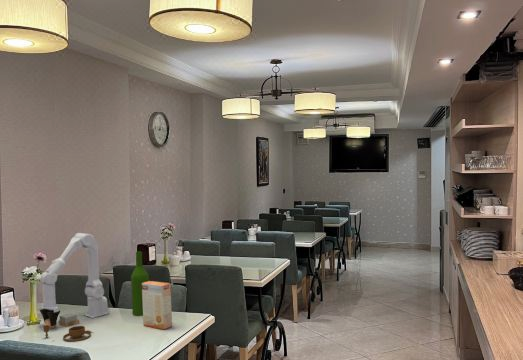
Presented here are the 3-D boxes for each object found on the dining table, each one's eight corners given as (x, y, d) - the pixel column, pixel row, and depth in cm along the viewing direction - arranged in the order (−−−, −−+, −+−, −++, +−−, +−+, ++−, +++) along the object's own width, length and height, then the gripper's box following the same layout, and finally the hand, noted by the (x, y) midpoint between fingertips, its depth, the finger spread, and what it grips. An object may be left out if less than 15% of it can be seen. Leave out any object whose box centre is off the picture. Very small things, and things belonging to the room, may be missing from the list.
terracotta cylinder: (52, 325, 244) (52, 317, 244) (57, 327, 241) (56, 318, 241) (44, 327, 241) (43, 319, 241) (48, 329, 238) (47, 321, 238)
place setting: (67, 347, 214) (67, 333, 213) (41, 339, 225) (40, 326, 225) (101, 335, 228) (100, 322, 228) (74, 328, 239) (74, 316, 239)
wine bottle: (144, 310, 265) (141, 249, 265) (153, 313, 259) (150, 251, 258) (129, 314, 259) (126, 252, 258) (138, 317, 253) (135, 253, 252)
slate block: (71, 317, 249) (71, 312, 249) (77, 319, 245) (76, 314, 245) (59, 320, 245) (59, 315, 245) (65, 322, 241) (65, 317, 241)
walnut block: (72, 322, 250) (72, 317, 250) (79, 324, 245) (79, 319, 245) (59, 325, 245) (58, 320, 245) (66, 328, 240) (65, 323, 240)
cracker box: (172, 326, 235) (171, 282, 234) (163, 330, 230) (161, 285, 229) (152, 322, 243) (150, 280, 242) (143, 325, 238) (141, 282, 237)
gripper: (34, 296, 243) (35, 323, 243) (47, 300, 233) (49, 329, 233) (48, 293, 248) (49, 320, 248) (62, 297, 238) (63, 325, 238)
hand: (50, 324), depth 241 cm, fingers open, 6 cm apart
